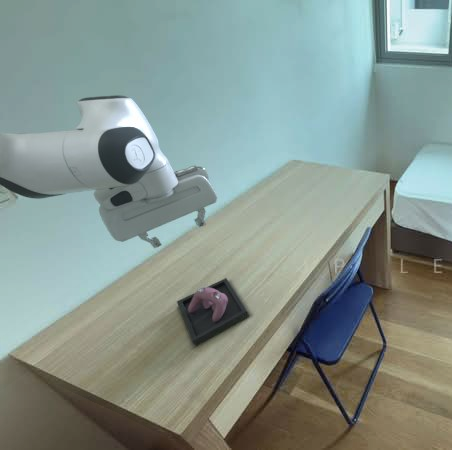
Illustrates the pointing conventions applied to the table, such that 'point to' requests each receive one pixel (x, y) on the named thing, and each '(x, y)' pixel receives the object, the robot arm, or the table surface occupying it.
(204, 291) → the video game controller
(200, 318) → the black rectangular tray
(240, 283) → the table surface
